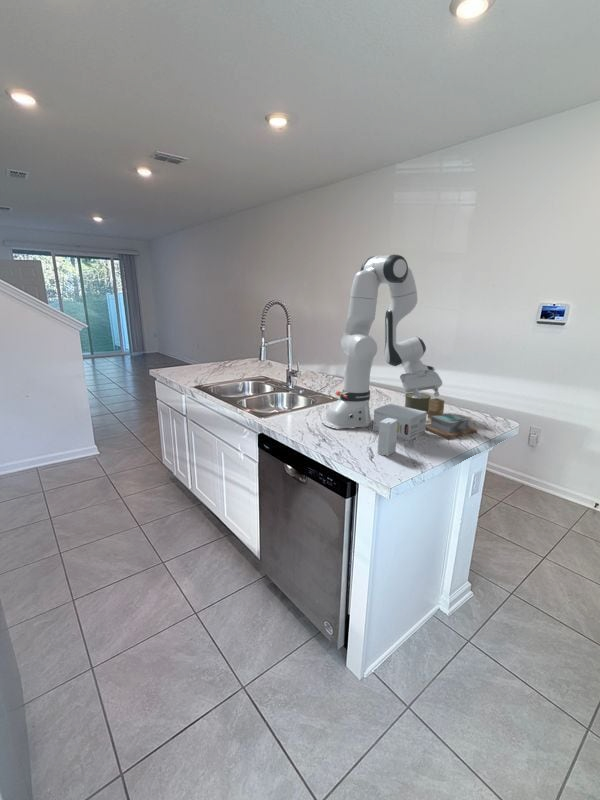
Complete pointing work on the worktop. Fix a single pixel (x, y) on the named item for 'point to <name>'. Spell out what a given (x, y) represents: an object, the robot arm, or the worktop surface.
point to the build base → (449, 435)
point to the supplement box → (402, 420)
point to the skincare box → (387, 436)
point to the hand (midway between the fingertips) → (429, 397)
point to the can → (417, 401)
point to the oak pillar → (435, 407)
